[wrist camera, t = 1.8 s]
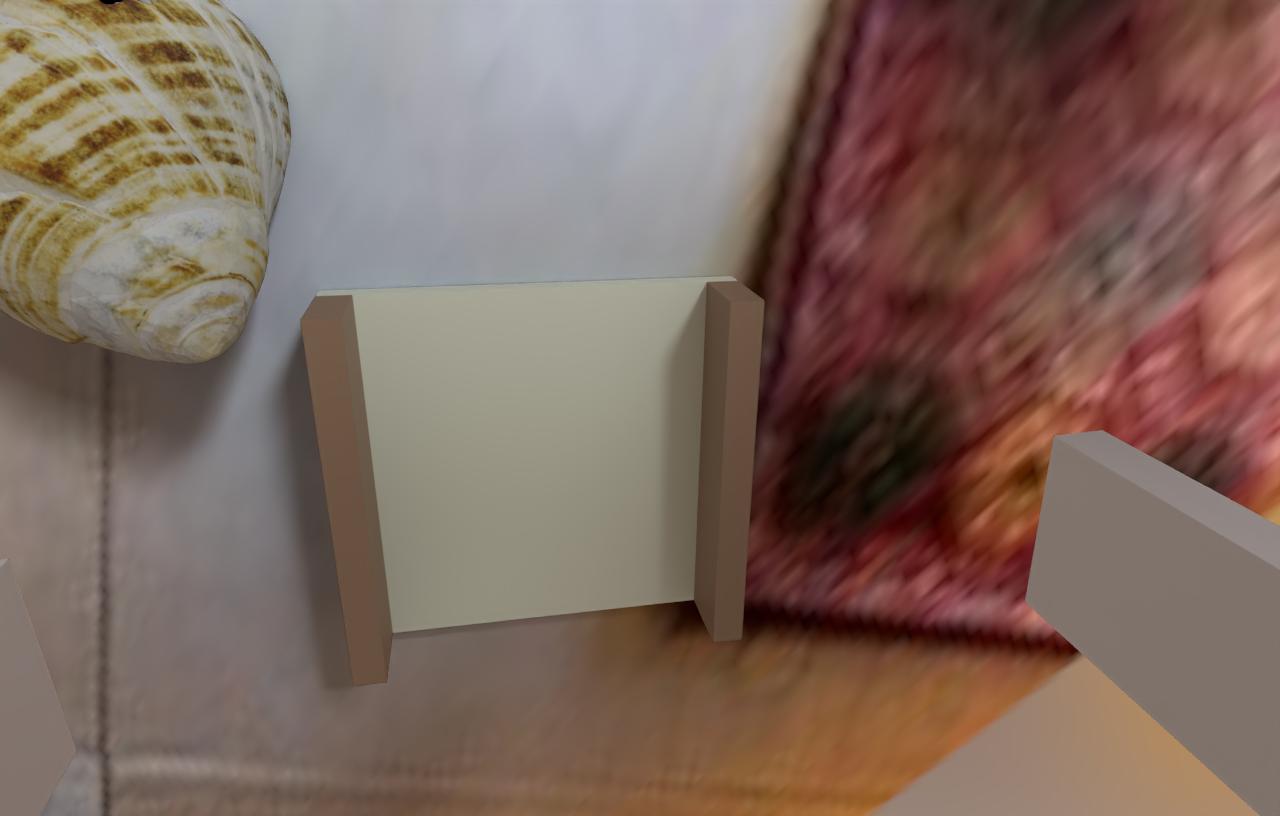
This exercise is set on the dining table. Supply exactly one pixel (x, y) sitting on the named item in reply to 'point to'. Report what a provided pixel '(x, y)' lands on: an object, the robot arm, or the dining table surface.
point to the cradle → (534, 451)
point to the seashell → (136, 172)
